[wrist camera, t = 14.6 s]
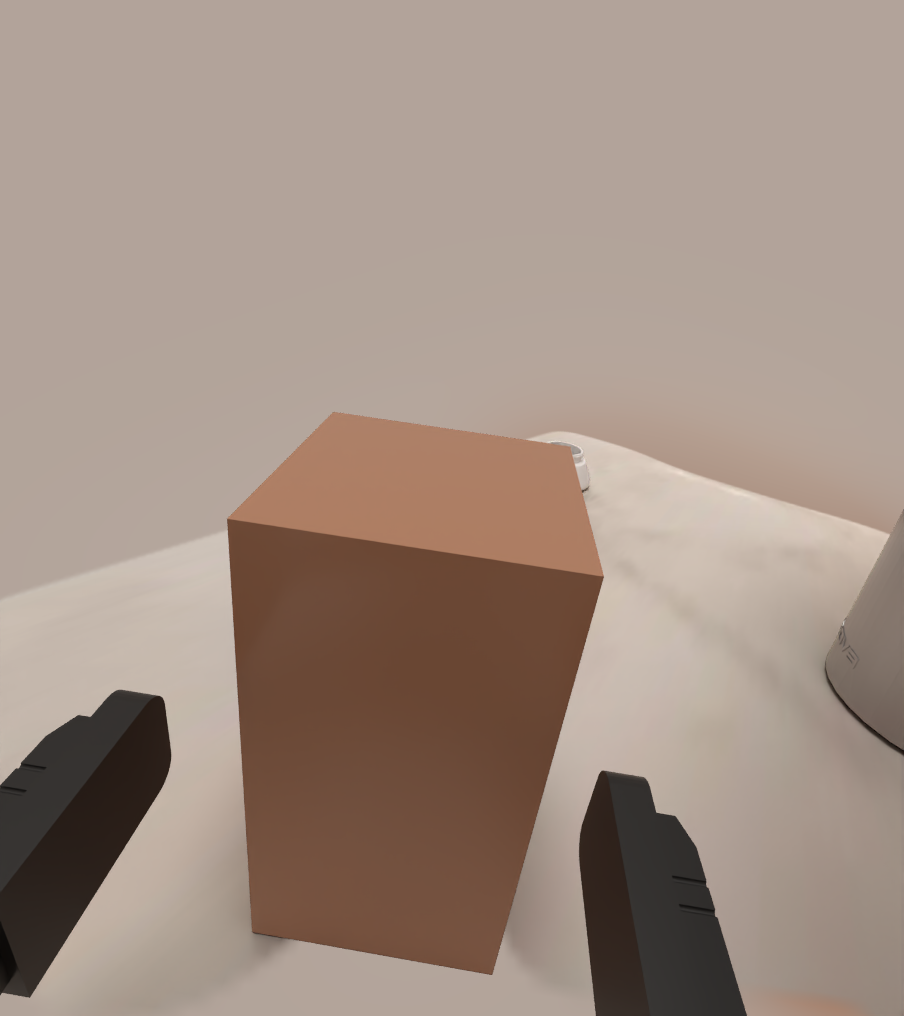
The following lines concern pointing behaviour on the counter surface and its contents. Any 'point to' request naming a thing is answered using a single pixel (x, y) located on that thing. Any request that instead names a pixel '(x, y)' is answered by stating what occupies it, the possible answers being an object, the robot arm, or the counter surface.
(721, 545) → the counter surface
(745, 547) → the counter surface
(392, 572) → the brown rectangular block
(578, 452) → the lidless jar
